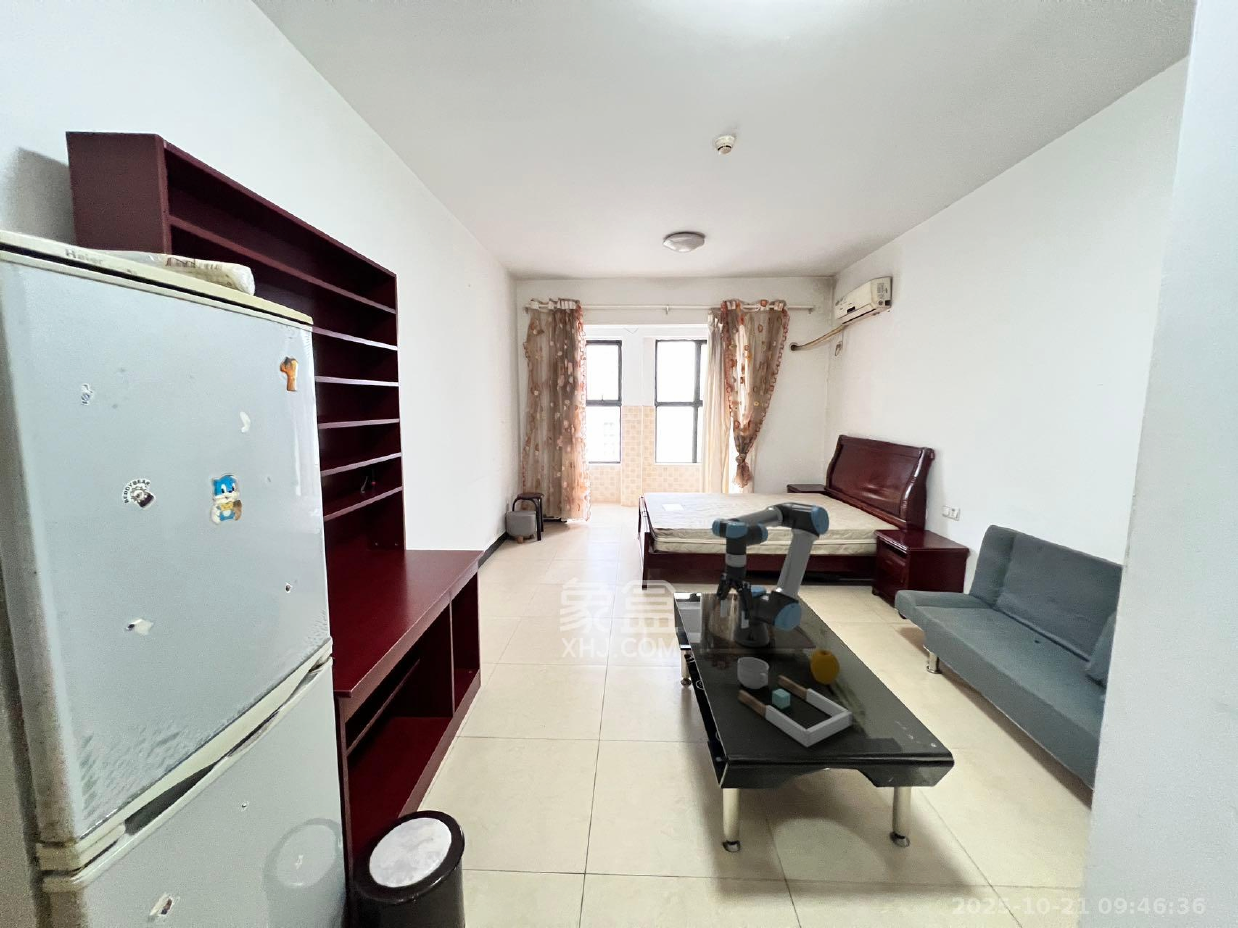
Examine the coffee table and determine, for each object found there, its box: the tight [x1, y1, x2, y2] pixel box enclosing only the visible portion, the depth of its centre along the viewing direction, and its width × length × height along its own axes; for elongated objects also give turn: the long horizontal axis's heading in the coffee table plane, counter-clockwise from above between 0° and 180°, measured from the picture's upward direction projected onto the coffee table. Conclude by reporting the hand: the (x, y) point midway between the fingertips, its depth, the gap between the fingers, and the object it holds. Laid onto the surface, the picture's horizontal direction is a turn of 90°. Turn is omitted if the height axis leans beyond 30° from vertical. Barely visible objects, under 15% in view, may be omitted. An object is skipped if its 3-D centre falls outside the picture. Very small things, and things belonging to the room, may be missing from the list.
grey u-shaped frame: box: [765, 688, 853, 748], centre depth 147 cm, size 16×21×4 cm
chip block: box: [771, 688, 791, 710], centre depth 156 cm, size 4×4×4 cm
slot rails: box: [738, 674, 807, 719], centre depth 158 cm, size 12×21×3 cm, turn 120°
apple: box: [810, 648, 841, 685], centre depth 170 cm, size 10×10×12 cm
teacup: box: [737, 656, 770, 690], centre depth 166 cm, size 14×11×8 cm
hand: (734, 621), depth 174 cm, fingers open, 10 cm apart
